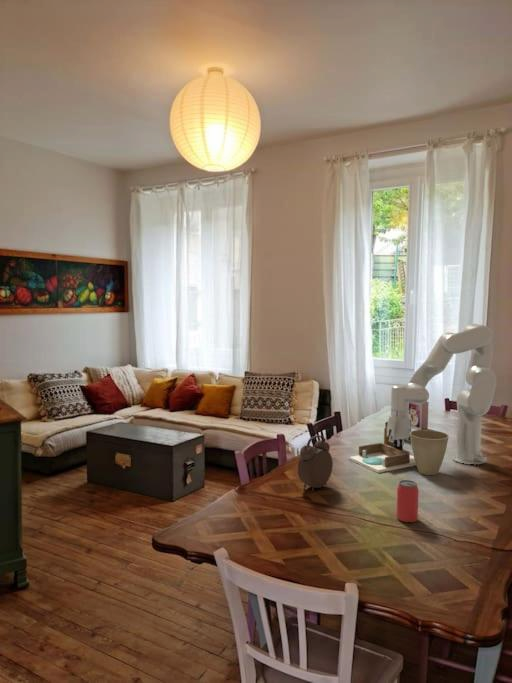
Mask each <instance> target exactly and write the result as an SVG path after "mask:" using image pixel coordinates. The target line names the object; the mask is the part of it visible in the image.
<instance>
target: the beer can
mask: <svg viewBox="0 0 512 683" xmlns="http://www.w3.org/2000/svg"><path fill="white" fill-rule="evenodd" d="M396 491H397V492H396V518H397V519H398V520H399V521H401V522H404V523H408V522H411V523H415V522H417V521H418V519H419V518H418V516H419V493H420V492H419V487H418V483H417V482H416V481H413V480H409V479H404V480H402V479H401V480H400V481H399V482H398V486H397V490H396Z"/></svg>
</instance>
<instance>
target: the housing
mask: <svg viewBox="0 0 512 683" xmlns="http://www.w3.org/2000/svg"><path fill="white" fill-rule="evenodd" d="M363 450H366V454H372V453H378V452H381V453H384V454H386V455H389V457H385V467H391V466H396V465H401V464H406V463H410V455H411V454H410V453H409V452H407V451H404V450H403V449H402V450H399V449H396V448H394V447H391V446H389V445H386V444H384V442H378V443H377V442H376V443H369V444H365V445H359V446H358V455H360V456H361V455H363Z"/></svg>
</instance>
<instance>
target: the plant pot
mask: <svg viewBox="0 0 512 683" xmlns="http://www.w3.org/2000/svg"><path fill="white" fill-rule="evenodd" d="M410 438H411V441H410V443H411V444H410V445H411V450H412V454H413V455H412V456H414V459H415V462H416V465H415V466H416V468H417V470H418V473H419V474H422V475H425V476H435V475H438V473H439V471H440V469H441V466H442V463H443V461H444V459H445V455H446V451H447V447H448V443H449V442H448V441H449V434H447V433H445V432H443V431H438V430H431V429H421V430H417V429H414V430H411V432H410Z"/></svg>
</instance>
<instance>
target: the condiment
mask: <svg viewBox="0 0 512 683" xmlns="http://www.w3.org/2000/svg"><path fill="white" fill-rule="evenodd" d="M384 425H385V427H384V430H383V431H384V432H383V433H384V434H383V444H386V445H389V446H391V447H394V448H395V445H394V444H393V443H392V442H389V438H388V437H387V425H388V421H386V422H385V424H384Z"/></svg>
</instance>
